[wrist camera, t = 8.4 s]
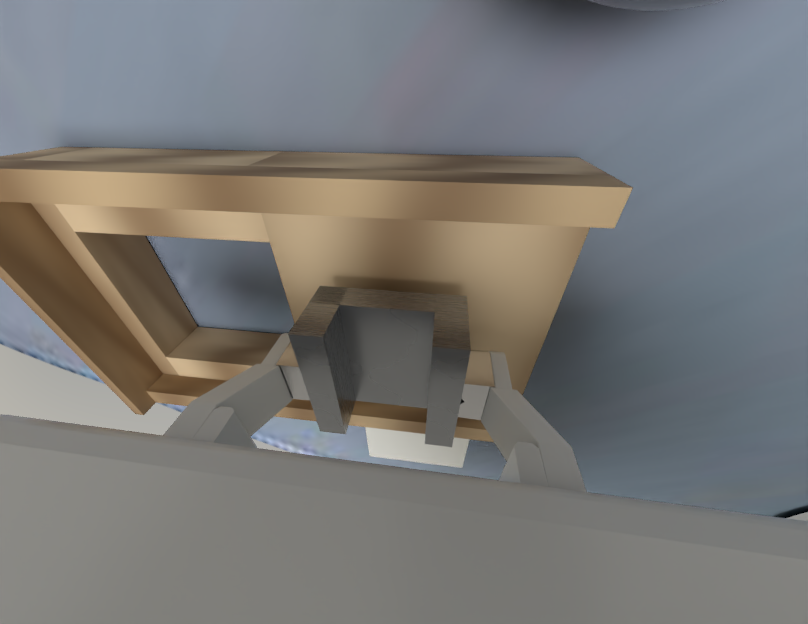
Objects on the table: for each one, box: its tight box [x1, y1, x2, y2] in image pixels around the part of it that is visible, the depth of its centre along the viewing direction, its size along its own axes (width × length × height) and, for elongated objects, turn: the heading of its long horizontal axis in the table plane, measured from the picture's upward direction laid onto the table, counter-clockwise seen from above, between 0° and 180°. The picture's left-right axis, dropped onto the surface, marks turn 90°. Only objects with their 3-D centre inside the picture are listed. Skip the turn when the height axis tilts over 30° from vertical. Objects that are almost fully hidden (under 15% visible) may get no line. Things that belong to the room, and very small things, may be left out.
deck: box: [0, 147, 632, 442], centre depth 13 cm, size 20×12×4 cm, turn 90°
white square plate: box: [365, 427, 470, 468], centre depth 20 cm, size 7×7×1 cm
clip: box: [288, 286, 471, 447], centre depth 10 cm, size 5×5×2 cm
